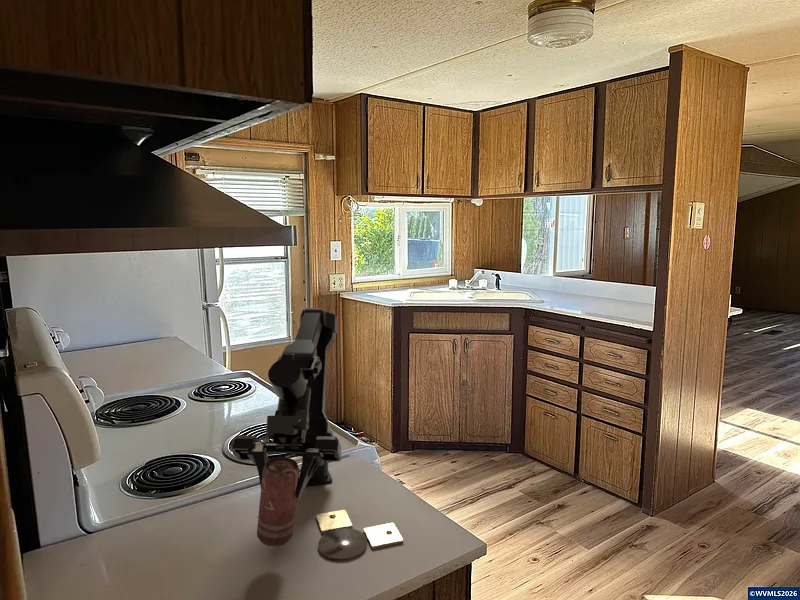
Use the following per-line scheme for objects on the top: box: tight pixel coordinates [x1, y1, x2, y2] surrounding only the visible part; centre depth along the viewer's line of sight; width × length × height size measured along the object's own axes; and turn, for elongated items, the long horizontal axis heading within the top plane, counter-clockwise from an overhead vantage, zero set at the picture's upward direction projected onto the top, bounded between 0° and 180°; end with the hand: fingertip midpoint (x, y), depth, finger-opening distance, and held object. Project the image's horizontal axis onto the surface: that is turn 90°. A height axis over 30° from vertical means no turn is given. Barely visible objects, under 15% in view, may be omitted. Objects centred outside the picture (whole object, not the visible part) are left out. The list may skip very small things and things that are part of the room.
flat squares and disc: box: [315, 509, 404, 561], centre depth 106 cm, size 15×15×1 cm
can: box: [256, 456, 301, 547], centre depth 95 cm, size 6×6×14 cm
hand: (280, 497), depth 93 cm, fingers closed on can, 5 cm apart
